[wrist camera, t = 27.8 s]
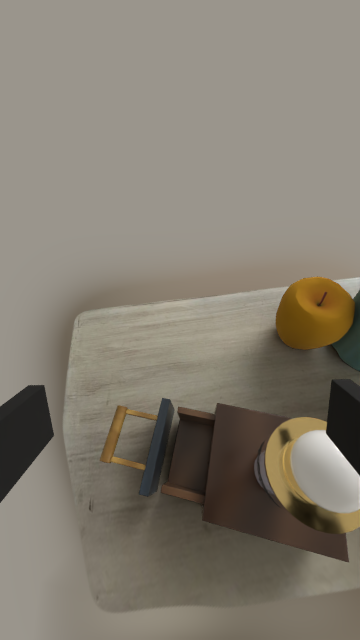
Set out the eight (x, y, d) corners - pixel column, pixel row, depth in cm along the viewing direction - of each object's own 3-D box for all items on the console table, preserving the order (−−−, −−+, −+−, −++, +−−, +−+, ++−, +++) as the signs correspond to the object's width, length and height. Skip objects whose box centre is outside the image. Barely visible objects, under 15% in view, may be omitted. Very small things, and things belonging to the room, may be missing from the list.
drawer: (108, 478, 35) (90, 480, 29) (132, 400, 40) (121, 389, 35) (245, 515, 31) (255, 527, 26) (250, 425, 37) (259, 417, 31)
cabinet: (201, 508, 33) (202, 520, 26) (213, 414, 39) (217, 402, 32) (313, 539, 30) (349, 562, 23) (307, 434, 37) (333, 426, 29)
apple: (337, 356, 43) (384, 318, 32) (279, 365, 43) (307, 331, 32) (310, 307, 49) (342, 262, 38) (259, 316, 49) (277, 272, 38)
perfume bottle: (290, 440, 29) (374, 394, 12) (309, 499, 25) (459, 548, 9) (242, 446, 29) (260, 410, 13) (255, 505, 26) (302, 561, 9)
